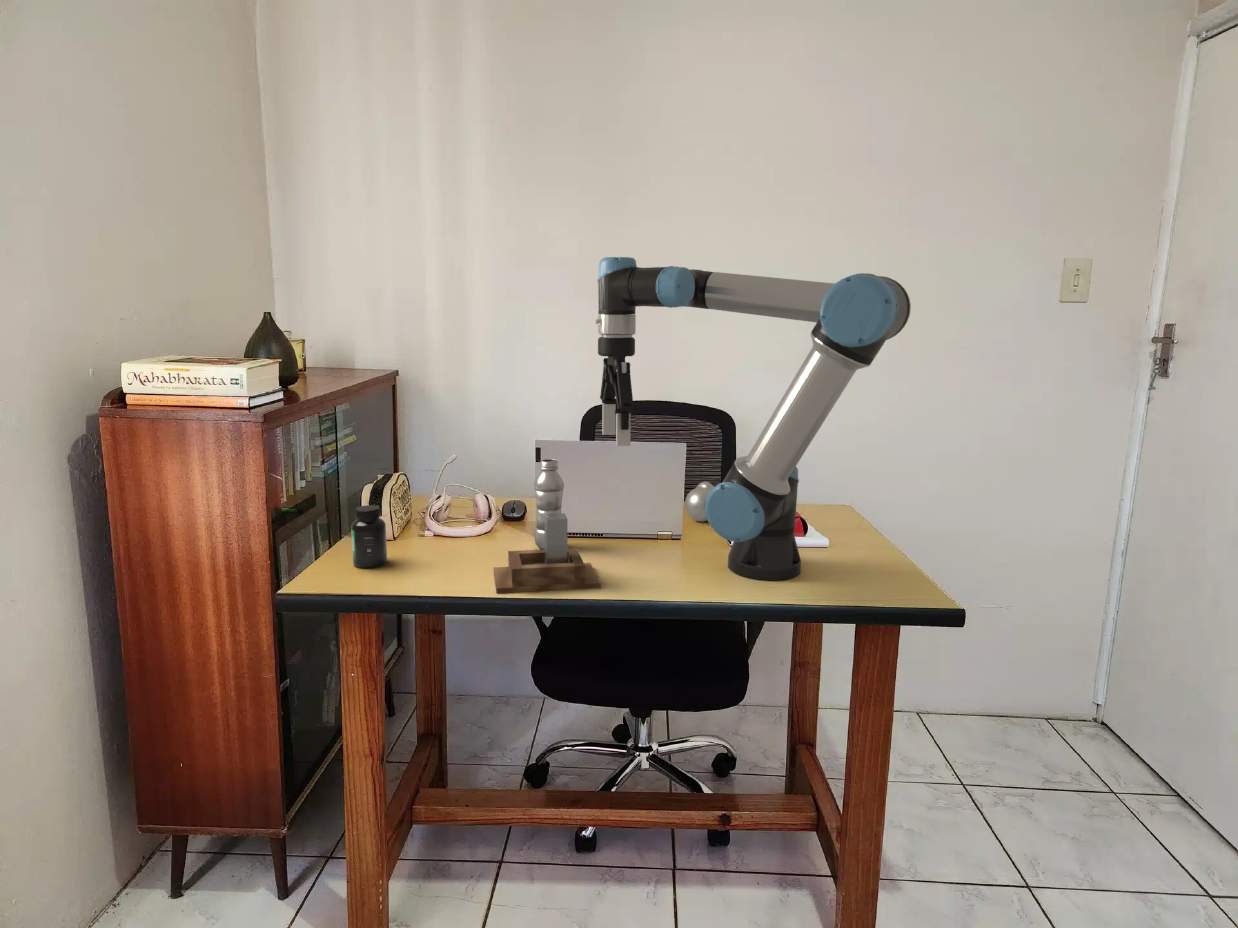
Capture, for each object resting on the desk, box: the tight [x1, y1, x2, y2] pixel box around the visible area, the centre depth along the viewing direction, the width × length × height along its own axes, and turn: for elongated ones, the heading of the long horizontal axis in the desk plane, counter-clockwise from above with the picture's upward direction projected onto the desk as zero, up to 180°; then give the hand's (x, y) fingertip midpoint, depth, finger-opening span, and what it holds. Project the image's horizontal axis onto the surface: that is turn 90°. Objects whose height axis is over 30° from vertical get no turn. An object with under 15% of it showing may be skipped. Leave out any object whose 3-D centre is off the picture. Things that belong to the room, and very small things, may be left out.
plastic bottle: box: [533, 458, 565, 550], centre depth 176 cm, size 6×7×20 cm
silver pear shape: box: [684, 480, 715, 523], centre depth 202 cm, size 9×10×10 cm
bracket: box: [525, 512, 568, 565], centre depth 157 cm, size 8×4×12 cm, turn 101°
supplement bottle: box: [350, 504, 388, 570], centre depth 165 cm, size 7×7×12 cm
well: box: [492, 547, 601, 594], centre depth 158 cm, size 20×12×4 cm, turn 101°
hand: (615, 440), depth 165 cm, fingers open, 13 cm apart
